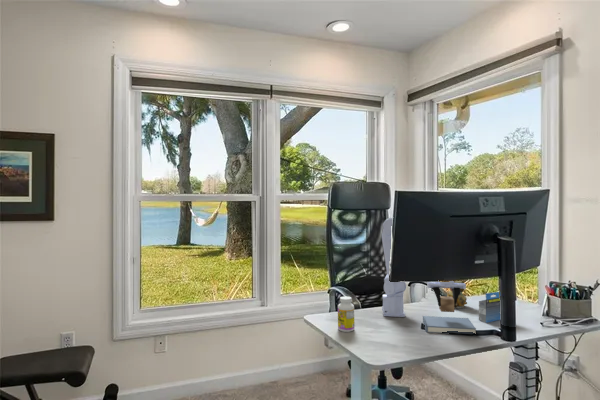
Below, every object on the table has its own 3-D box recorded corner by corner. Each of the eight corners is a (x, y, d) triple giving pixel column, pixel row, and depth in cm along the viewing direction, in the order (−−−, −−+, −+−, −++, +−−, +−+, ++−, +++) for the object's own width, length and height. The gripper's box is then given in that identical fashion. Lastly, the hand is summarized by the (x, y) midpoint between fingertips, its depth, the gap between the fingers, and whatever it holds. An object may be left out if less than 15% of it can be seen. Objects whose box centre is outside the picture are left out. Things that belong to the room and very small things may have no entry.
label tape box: (493, 317, 161) (492, 289, 161) (501, 320, 157) (500, 291, 157) (478, 320, 157) (477, 291, 157) (486, 323, 153) (486, 293, 153)
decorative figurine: (456, 310, 173) (455, 278, 173) (442, 305, 180) (441, 275, 180) (469, 306, 177) (469, 275, 178) (455, 303, 185) (454, 273, 185)
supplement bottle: (335, 328, 150) (334, 296, 151) (349, 326, 153) (349, 295, 153) (342, 333, 144) (342, 300, 144) (357, 331, 146) (357, 298, 147)
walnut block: (441, 311, 148) (440, 299, 148) (439, 308, 153) (439, 296, 153) (454, 312, 147) (454, 299, 147) (452, 308, 152) (451, 296, 152)
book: (426, 332, 144) (426, 325, 144) (422, 322, 157) (422, 315, 157) (475, 335, 140) (475, 328, 140) (468, 324, 153) (468, 318, 153)
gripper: (428, 273, 148) (429, 307, 147) (467, 274, 145) (468, 309, 144) (426, 270, 155) (427, 303, 154) (463, 271, 151) (464, 304, 151)
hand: (446, 305), depth 150 cm, fingers closed on walnut block, 5 cm apart
